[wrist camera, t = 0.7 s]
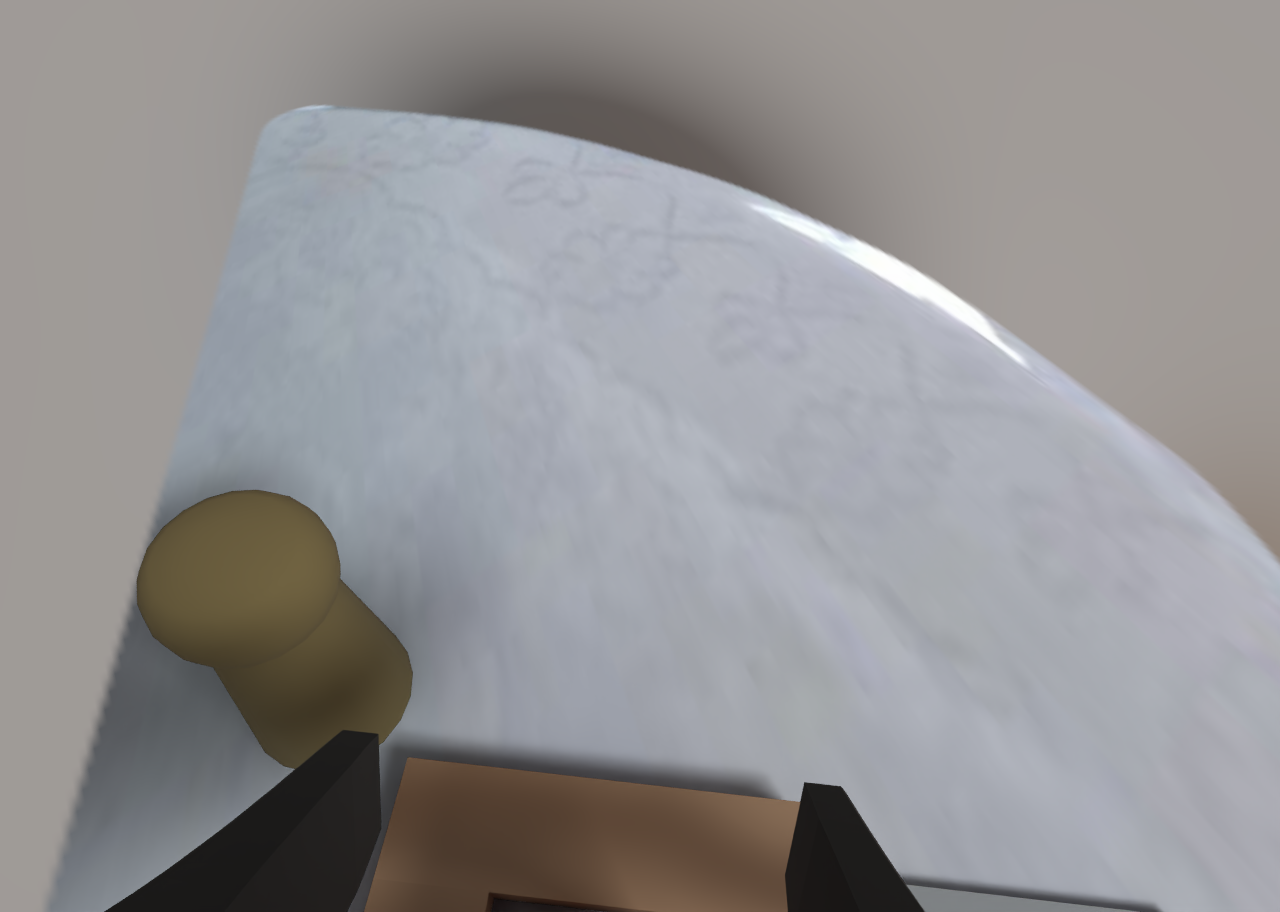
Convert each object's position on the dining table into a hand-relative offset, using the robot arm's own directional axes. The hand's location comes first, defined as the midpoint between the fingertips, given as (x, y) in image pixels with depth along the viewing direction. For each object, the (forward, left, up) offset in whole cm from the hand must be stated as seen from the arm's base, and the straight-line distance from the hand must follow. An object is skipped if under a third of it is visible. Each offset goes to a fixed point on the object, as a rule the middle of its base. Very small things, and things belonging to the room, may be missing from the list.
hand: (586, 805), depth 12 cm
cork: (+6, +11, -16) cm, 20 cm away
